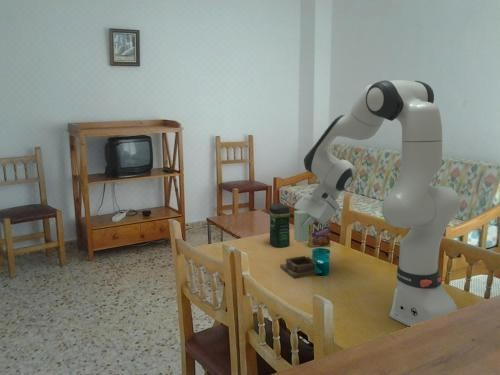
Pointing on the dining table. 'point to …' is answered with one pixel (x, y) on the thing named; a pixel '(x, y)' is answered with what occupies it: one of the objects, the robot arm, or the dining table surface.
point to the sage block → (299, 231)
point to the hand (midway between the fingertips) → (299, 225)
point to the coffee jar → (279, 225)
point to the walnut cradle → (299, 267)
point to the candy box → (319, 234)
